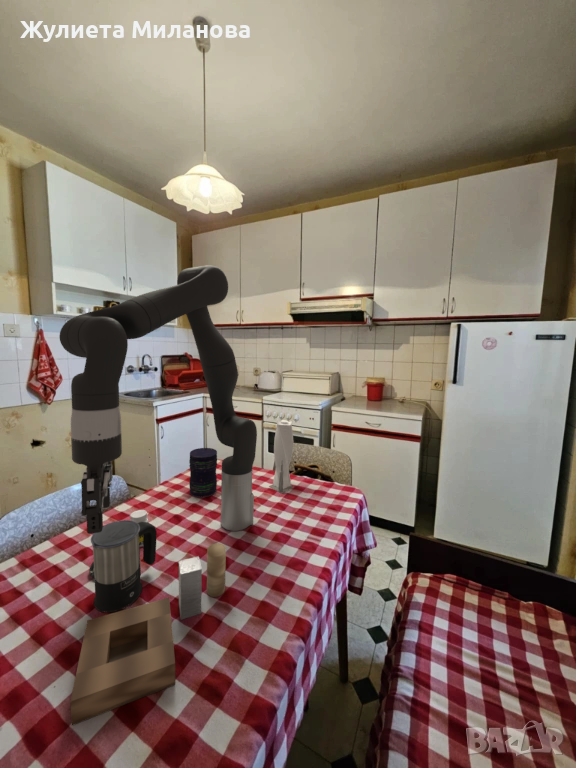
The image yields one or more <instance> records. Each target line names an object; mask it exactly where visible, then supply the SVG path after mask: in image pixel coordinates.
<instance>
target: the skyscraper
mask: <svg viewBox="0 0 576 768" xmlns="http://www.w3.org/2000/svg"><path fill="white" fill-rule="evenodd" d="M292 425H293V420H290V421H288V420H286V419H284V420H283V419H282V420H280V415H278V416H277V419H276V428H275V434H274V439H273V440H274V443H273V444H274V445H273V457H274V458H273V459H274V465H275V472H274V476H273V482H272V484H271V485H269V486H268V487H269V488H271V489H273V490H275V491H276V492H278V493H280V494H282V493H285V492H287V491H290V490H292V489H295V487H294V486H292V482H291V481H292V480H291V476H290V470H289V467H290V465H291V460H292V458H293V457H292V456H293V453H294V432H293V426H292Z"/></svg>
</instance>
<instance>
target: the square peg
mask: <svg viewBox="0 0 576 768" xmlns="http://www.w3.org/2000/svg"><path fill="white" fill-rule="evenodd" d="M202 570H203V569H202V564H201V560H200V557H199V555H198V556H194V557H190V558H186V559H182V560H178V608H179V616H180V621H182V620H186V619H188V618H192V617H194V616H198V615H201V614H202V589H203V588H202V587H203V586H202V574H203V573H202Z"/></svg>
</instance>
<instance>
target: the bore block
mask: <svg viewBox="0 0 576 768" xmlns="http://www.w3.org/2000/svg"><path fill="white" fill-rule="evenodd" d="M170 602H171V601H170V596H169V597H165V598H162V599H159V600H154V601H152V602H148V603H144V604H141V605H138V606H133V607H130V608H125V609H121V610H118V611H115V612H110V613H107V614H105V615H102V616H98V617H94V618H90V619H87V620H86V625H85V629H84V630H85V631H84V635H83V640H82V644H81V649H80V654H79V658H78V664H77V669H76V674H75V679H74V683H73V687H72V692H71V697H70V701H69V703H70V716H71V717H70V718H71V726H74V725H77V724H79V723H82V722H85V721H86V720H89V719H92V718H95V717H96V716H100V715H102V714H104V713H107V712H110V711H112V710H114V709H118V708H120V707H123V706H124V705H125V706H126V705H128V704H129V703H132V702H135V701H137V700H140V699H143V698H145V697H148V696H150V695H152V694H155V693H158V692H160V691H162V690H165V689H168V688H170V687H173V686H175V685H176V658H175V657H176V656H175V649H174V648H175V646H174V635H173V626H172V624H173V623H172V615H171V613H172V612H171V603H170Z"/></svg>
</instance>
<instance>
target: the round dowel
mask: <svg viewBox="0 0 576 768" xmlns="http://www.w3.org/2000/svg"><path fill="white" fill-rule="evenodd" d="M206 549H207V550H206V593H207V595H208V596H209V597H211V598H218V597H221V596H222V595H223V594H224V593H225V591H226V564H227V563H226V561H227V560H226V554H227V551H226V549H227V547H226V545H225V544H223V543H221V542H216V543H212V544H210V545H209V546H208V547H207V548H206Z"/></svg>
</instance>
